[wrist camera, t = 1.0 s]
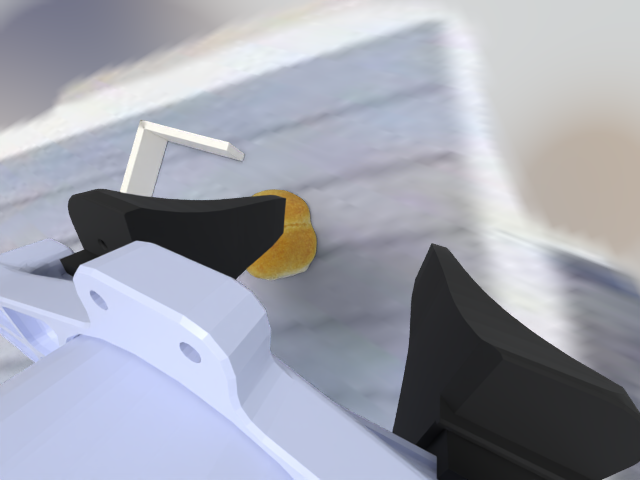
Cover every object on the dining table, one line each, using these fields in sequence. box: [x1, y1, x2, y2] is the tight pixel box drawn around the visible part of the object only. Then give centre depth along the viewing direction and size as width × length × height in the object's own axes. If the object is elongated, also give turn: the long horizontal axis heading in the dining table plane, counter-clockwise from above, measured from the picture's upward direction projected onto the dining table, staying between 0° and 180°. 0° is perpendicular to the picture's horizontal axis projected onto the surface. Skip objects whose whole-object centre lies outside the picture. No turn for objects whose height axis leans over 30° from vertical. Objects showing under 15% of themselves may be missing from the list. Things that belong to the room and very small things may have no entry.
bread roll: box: [246, 190, 317, 281], centre depth 24 cm, size 8×9×4 cm
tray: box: [120, 120, 245, 197], centre depth 26 cm, size 15×11×3 cm
